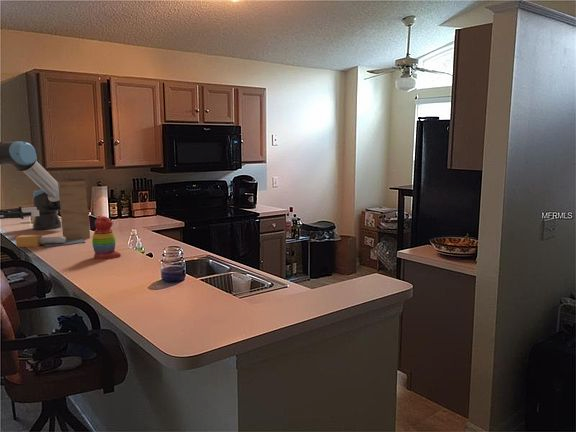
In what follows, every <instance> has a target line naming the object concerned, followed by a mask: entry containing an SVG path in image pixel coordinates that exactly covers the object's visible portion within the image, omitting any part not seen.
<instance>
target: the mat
mask: <svg viewBox="0 0 576 432" xmlns="http://www.w3.org/2000/svg"><path fill="white" fill-rule="evenodd" d="M79 244H86V241H85V239H82V238H81V239H72V240H66V242H65V243H54V244H43V246H44V248H51V247H52V248H53V247H62V246H69V245H70V246H71V245H79Z"/></svg>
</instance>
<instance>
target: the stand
mask: <svg viewBox="0 0 576 432" xmlns="http://www.w3.org/2000/svg"><path fill="white" fill-rule="evenodd" d="M57 182H58V187H59V198H60V209H61V211H60V218H61V220H60V221H61V231H62V237H66V240H72V239H81V238H82V239H83V240H86V239H87V240H88V239H91V228H90V229H89V222H90V216H89V217H88V215H89V209H88V196H87V195H88V193H87V186H86V185H87V184H86V178H84V177H73V178H72V177H71V178H68V177H67V178H58V179H57Z"/></svg>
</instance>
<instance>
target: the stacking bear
mask: <svg viewBox="0 0 576 432" xmlns="http://www.w3.org/2000/svg"><path fill="white" fill-rule="evenodd" d="M113 223H114V222H113V221H112V220H111V219H110V217H108V216H104V215H103V216H100V215H98V216H97V217H96V219H95V221H94V226H95V231H94V232H93V235H92V248H93V251H94V254H93V255H94V256H93V258H94V259H96V260H106V259H109V260H110V259H116V258H120V257H121V255H122V254H121V253H120V252H118V251H116V250H115V249H116V244H117V243H116V237H115V233H114V231H113V229H111V228H112V226H113Z"/></svg>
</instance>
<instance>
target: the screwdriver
mask: <svg viewBox="0 0 576 432" xmlns="http://www.w3.org/2000/svg"><path fill="white" fill-rule="evenodd" d="M42 235H43V234H22V235H18V236H16V237H15V244H16V247H17V248H18V247H19V248H25V247H27V248H28V247H40V246H41V245H44V244H54V243H65V242H66V237H63V236H42Z"/></svg>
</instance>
